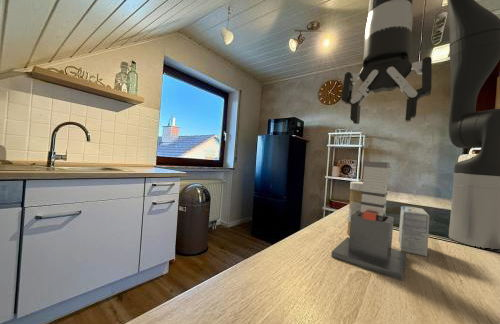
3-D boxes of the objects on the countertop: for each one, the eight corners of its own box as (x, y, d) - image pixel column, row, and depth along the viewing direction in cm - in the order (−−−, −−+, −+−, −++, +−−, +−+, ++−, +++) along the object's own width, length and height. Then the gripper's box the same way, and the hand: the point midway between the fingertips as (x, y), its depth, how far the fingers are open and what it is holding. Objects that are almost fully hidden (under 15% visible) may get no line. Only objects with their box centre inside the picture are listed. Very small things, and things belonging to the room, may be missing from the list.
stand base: (347, 241, 49) (350, 201, 49) (406, 257, 42) (410, 211, 42) (331, 256, 40) (334, 208, 40) (402, 280, 33) (406, 222, 33)
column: (361, 243, 44) (367, 161, 43) (383, 249, 41) (389, 162, 41) (357, 249, 41) (363, 161, 40) (380, 256, 38) (387, 162, 38)
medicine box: (427, 257, 43) (430, 215, 43) (400, 251, 45) (403, 210, 45) (421, 245, 50) (424, 208, 49) (397, 240, 52) (400, 205, 52)
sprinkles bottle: (351, 230, 57) (355, 180, 57) (369, 236, 53) (374, 183, 53) (343, 233, 54) (347, 181, 54) (361, 240, 50) (366, 183, 50)
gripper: (435, 34, 39) (428, 123, 39) (351, 54, 48) (346, 126, 48) (438, 11, 33) (429, 115, 33) (342, 38, 42) (335, 121, 42)
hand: (380, 122), depth 41 cm, fingers open, 8 cm apart
